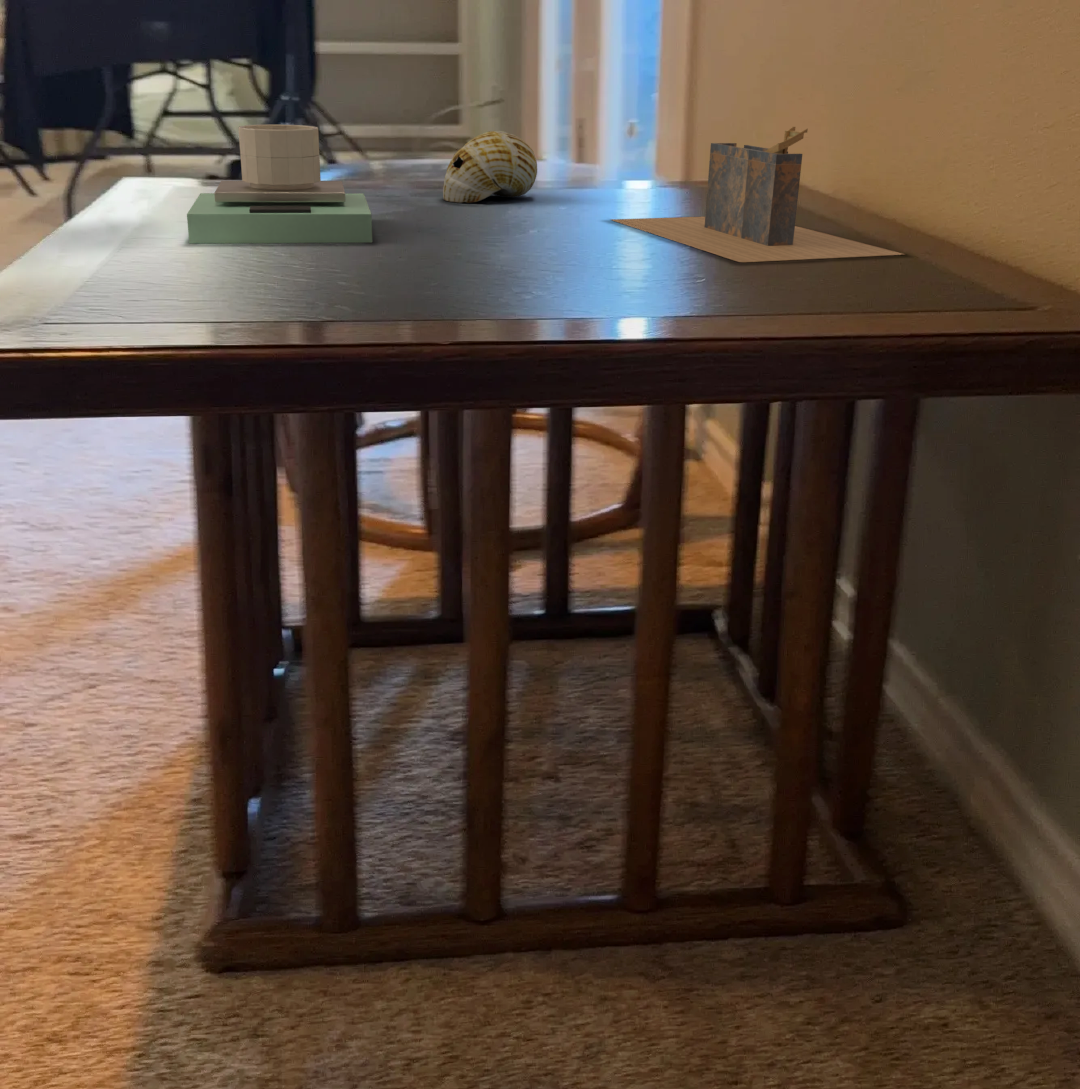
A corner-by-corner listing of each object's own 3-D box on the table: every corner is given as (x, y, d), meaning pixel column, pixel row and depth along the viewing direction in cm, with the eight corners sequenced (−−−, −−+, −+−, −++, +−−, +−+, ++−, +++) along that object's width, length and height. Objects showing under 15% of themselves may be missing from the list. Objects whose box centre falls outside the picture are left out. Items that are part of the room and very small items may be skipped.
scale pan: (215, 202, 100) (214, 192, 100) (221, 189, 108) (220, 180, 108) (345, 202, 102) (345, 192, 102) (342, 189, 110) (342, 181, 110)
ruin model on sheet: (906, 254, 101) (923, 134, 97) (740, 262, 95) (751, 135, 91) (753, 215, 122) (762, 115, 118) (609, 219, 116) (614, 114, 112)
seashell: (435, 197, 123) (437, 104, 124) (450, 228, 133) (451, 142, 134) (532, 194, 122) (533, 101, 123) (539, 227, 132) (540, 140, 133)
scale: (189, 243, 97) (186, 210, 96) (202, 219, 110) (200, 189, 108) (372, 242, 100) (371, 209, 98) (364, 219, 112) (363, 190, 111)
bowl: (241, 190, 101) (236, 129, 99) (244, 182, 107) (240, 123, 105) (321, 191, 102) (318, 130, 100) (320, 182, 108) (317, 124, 107)
